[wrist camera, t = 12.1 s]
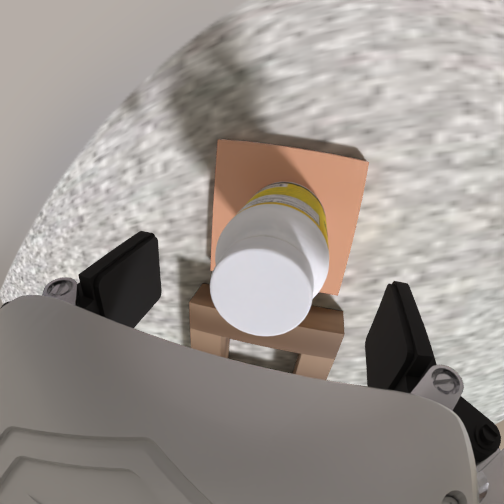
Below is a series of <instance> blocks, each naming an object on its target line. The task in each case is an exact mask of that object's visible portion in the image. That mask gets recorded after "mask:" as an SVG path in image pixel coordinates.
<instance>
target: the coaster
mask: <svg viewBox="0 0 504 504" xmlns="http://www.w3.org/2000/svg"><path fill="white" fill-rule="evenodd" d="M368 165H369V162H368V161H366V160H361V159H356V158H352V157H347V156H342V155H337V154H331V153H326V152H320V151H315V150H309V149H302V148H296V147H289V146H282V145H274V144H267V143H258V142H249V141H239V140H228V139H219V140H218V143H217V156H216V170H215V185H214V202H213V221H212V243H211V270H210V271H213V270H214V268H215V266H216V263H215V252H216V246H217V242H218V239H219V237H220V235H221V233H222V231H223V230H224V228H225V227H226V225H227V224H228V223H229V222H230V220H231V219H232V218H233V217H234V216H235V215H236V214H237V213H238V212H239V211H240V210H241V209H242V208H243V207H244V206H245V205H246V203H247V202H248V201H249V200H250V199H251V198H252V197H253V196H254V195H255V194H256V193H257V192H258V191H259V190H261V189H262V188H264V187H265V186H267V185H270V184H272V183H276V182H293V183H297V184H299V185H302V186H304V187H306V188H307V189H309V190H310V191H311V192H313V193H314V194H315V195H316V197H317V198H318V199H319V200H320V202H321V204H322V206H323V208H324V211H325V215H326V223H327V234H328V245H329V269H328V274H327V277H326V280H325V282H324V284H323V286H322V288H321V290H320V291H319V292H321V293H327V294H332V295H338V293H339V290H340V286H341V283H342V279H343V276H344V272H345V268H346V265H347V261H348V257H349V253H350V249H351V245H352V241H353V237H354V233H355V228H356V224H357V220H358V215H359V211H360V206H361V201H362V196H363V191H364V186H365V181H366V176H367V170H368Z"/></svg>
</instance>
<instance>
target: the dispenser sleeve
mask: <svg viewBox="0 0 504 504" xmlns="http://www.w3.org/2000/svg"><path fill="white" fill-rule="evenodd" d="M189 314H190V338H191V348H193V349H196V350H199V351H203V352H206V353H209V354H213V355H217V356H220V357H224V358H228V356H229V341H230V339H234V340H238V341H242V342H247V343H251V344H256V345H260V346H265V347H269V348H274V349H279V350H284V351H289V352H295V353H298V357H297V360H296V363H295V367H294V370H293V373H292V374H296V375H301V376H306V377H311V378H317V379H322V380H326V379H327V376H328V374H329V372H330V369H331V367H332V365H333V362H334V360H335V357H336V355H337V352H338V350H339V347H340V345H341V342H342V339H343V337H344V318H343V311H339V310H334V309H328V308H322V307H317V306H311V307H310V310H309V312H308V314H307V316H306V317H305V319H304V320H303V321H302V322H301V323H300V324H299V325H298V326H297V327H295V328H294V329H292V330H290V331H288V332H286V333H283V334H280V335H275V336H257V335H253V334H249V333H246V332H243V331H241V330H239V329H237V328H235V327H234V326H232V325H231V324H229V323H228V322H227V321H226V320H225V319H224V318H223V317H222V316H221V315H220V314H219V312H218V311H217V309H216V307H215V306H214V303H213V301H212V297H211V294H210V285H209V284H205V283H203V284H202V285H201V287H200V288H199V289H198V291H197V292H196V293H195V295H194V296H193V297H192V299H191V300H190V302H189Z"/></svg>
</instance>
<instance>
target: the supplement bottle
mask: <svg viewBox="0 0 504 504" xmlns="http://www.w3.org/2000/svg"><path fill="white" fill-rule="evenodd" d="M215 263H216V266H215V268H214V270H213V272H212V275H211V280H210V294H211V297H212V301H213V303H214V306H215V307H216V309H217V311H218V312H219V314H220V315H221V316H222V317H223V318H224V319H225V320H226V321H227V322H228V323H229V324H231V325H232V326H234V327H235V328H237V329H239V330H241V331H243V332H246V333H249V334H253V335H257V336H275V335H280V334H283V333H286V332H288V331H290V330H292V329H294V328H295V327H297V326H298V325H299V324H300V323H301V322H302V321H303V320H304V319H305V317H306V316H307V314H308V312H309V310H310V307H311V304H312V299H313V298H314V297H315V296H316V295H317V294H318V292H319V291H320V290H321V288H322V286H323V284H324V282H325V280H326V277H327V274H328V269H329V245H328V234H327V223H326V215H325V211H324V208H323V206H322V204H321V202H320V200H319V199H318V198H317V197H316V195H315V194H314V193H313V192H311V191H310V190H309V189H307V188H306V187H304V186H302V185H299V184H297V183H293V182H276V183H272V184H270V185H267V186H265V187H264V188H262V189H261V190H259V191H258V192H257V193H256V194H255V195H254V196H253V197H252V198H251V199H250V200H249V201H248V202H247V203H246V205H245V206H244V207H243V208H242V209H241V210H240V211H239V212H238V213H237V214H236V215H235V216H234V217H233V218H232V219H231V220H230V222H229V223H228V224H227V225H226V227H225V228H224V230H223V231H222V233H221V235H220V237H219V239H218V242H217V246H216V252H215Z"/></svg>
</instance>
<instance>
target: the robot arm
mask: <svg viewBox="0 0 504 504" xmlns="http://www.w3.org/2000/svg"><path fill="white" fill-rule="evenodd" d="M79 279H80V283H78V284H77V282H76V281H75V280H74V279H72V278H67V277H66V278H58V279H55V280H53V281H51V282H50V283H48V284H47V285H46V286H45V288H44V291H43V294H42V296H41V295H26V296H20V297H18V298H16V299H14V300H12V301H10V302H7V303H5V304H4V305H3V306H2V307H1V308H0V504H504V449H502V450H500V449H499V446H500V443H501V436H500V432H499V430H498V428H497V426H496V425H495V424H494V423H493V422H492V421H490V420H489V419H488V418H487V417H486V416H484V415H483V414H482V413H481V412H480V411H478V410H477V409H476V408H475V407H473V406H472V405H471V404H470V403H469V402H467V401H466V400H465V399H464V398H462V397H461V394H462V392H463V389H464V385H463V381H462V378H461V377H460V375H459V374H458V373H457V372H456V371H455V370H454V369H452V368H450V367H449V366H445V365H436V361H435V358H434V354H433V351H432V348H431V345H430V342H429V339H428V335H427V332H426V329H425V327H424V324H423V322H422V319H421V316H420V313H419V311H418V308H417V305H416V303H415V300H414V297H413V295H412V292H411V290H410V287H409V285H408V284H407V283H402V282H397V281H394V282H393V283H392V284H388V285H387V287H386V290H385V293H384V296H383V298H382V301H381V303H380V306H379V309H378V311H377V314H376V316H375V318H374V321H373V323H372V326H371V328H370V330H369V333H368V335H367V338H366V342H365V351H366V366H367V385H368V387H367V386H361V385H354V384H347V383H341V382H334V381H328V380H322V379H317V378H311V377H306V376H301V375H296V374H291V373H286V372H282V371H277V370H273V369H268V368H264V367H259V366H255V365H251V364H247V363H243V362H239V361H235V360H231V359H228V358H224V357H220V356H217V355H213V354H209V353H206V352H203V351H199V350H196V349H193V348H189V347H186V346H183V345H180V344H177V343H174V342H171V341H168V340H165V339H162V338H159V337H156V336H153V335H150V334H147V333H145V332H142V331H139V330H136V329H134V327H135V326H136V325H137V324H138V323H139V321H140V320H141V319H142V318H143V317H144V316H145V315H146V313H147V312H148V311H149V310H150V309H151V308H152V307H153V305H154V304H155V303H156V302H157V301H158V300H159V298H160V296H161V279H160V266H159V251H158V239H157V238H156V237H155V235H154V234H153V233H149V232H144V231H140V232H138V233H137V234H135V235H134V236H132V237H131V238H129V239H128V240H126V241H125V242H123V243H122V244H121V245H119V246H118V247H116V248H115V249H113V250H112V251H111V252H109V253H108V254H106V255H105V256H103V257H102V258H101V259H99V260H98V261H97V262H95V263H94V264H92V265H91V266H90V267H88V268H87V269H86V270H84V271H83V272H82V273H80V274H79Z"/></svg>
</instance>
